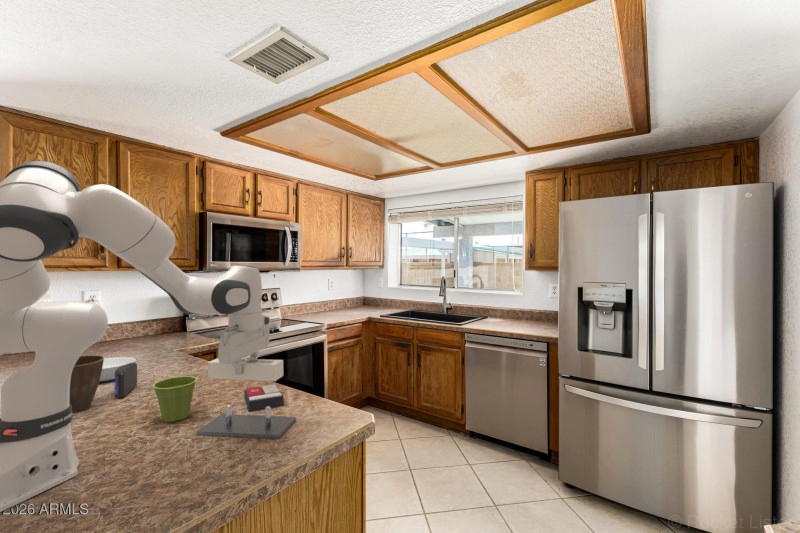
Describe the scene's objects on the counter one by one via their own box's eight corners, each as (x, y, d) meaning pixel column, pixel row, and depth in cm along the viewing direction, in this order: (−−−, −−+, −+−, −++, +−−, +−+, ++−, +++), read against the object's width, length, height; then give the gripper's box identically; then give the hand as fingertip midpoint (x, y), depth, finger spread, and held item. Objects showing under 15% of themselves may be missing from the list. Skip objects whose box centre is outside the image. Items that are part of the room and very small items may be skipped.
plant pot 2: (158, 413, 118) (158, 378, 118) (200, 408, 122) (199, 374, 122) (147, 429, 107) (147, 390, 107) (194, 422, 111) (193, 385, 111)
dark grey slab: (124, 386, 145) (123, 362, 145) (138, 385, 146) (137, 361, 146) (108, 400, 129) (108, 373, 129) (124, 398, 131) (123, 372, 131)
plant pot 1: (111, 407, 123) (111, 359, 123) (51, 422, 111) (51, 369, 111) (95, 398, 132) (94, 353, 132) (38, 411, 119) (37, 362, 119)
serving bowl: (127, 383, 149) (127, 366, 149) (61, 390, 141) (61, 372, 141) (142, 369, 168) (142, 354, 168) (85, 375, 160) (84, 359, 160)
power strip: (274, 381, 101) (274, 364, 100) (207, 378, 103) (207, 361, 103) (283, 375, 105) (283, 359, 105) (219, 372, 108) (219, 356, 108)
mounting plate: (278, 438, 100) (278, 415, 100) (196, 434, 103) (196, 412, 103) (296, 420, 112) (296, 399, 112) (221, 417, 115) (221, 396, 115)
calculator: (276, 383, 137) (283, 393, 124) (276, 395, 137) (283, 406, 124) (244, 387, 132) (248, 399, 119) (244, 400, 132) (248, 412, 119)
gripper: (234, 329, 94) (234, 383, 94) (273, 317, 114) (273, 361, 114) (211, 328, 95) (211, 382, 95) (254, 316, 115) (254, 361, 115)
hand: (245, 371), depth 104 cm, fingers closed on power strip, 5 cm apart
